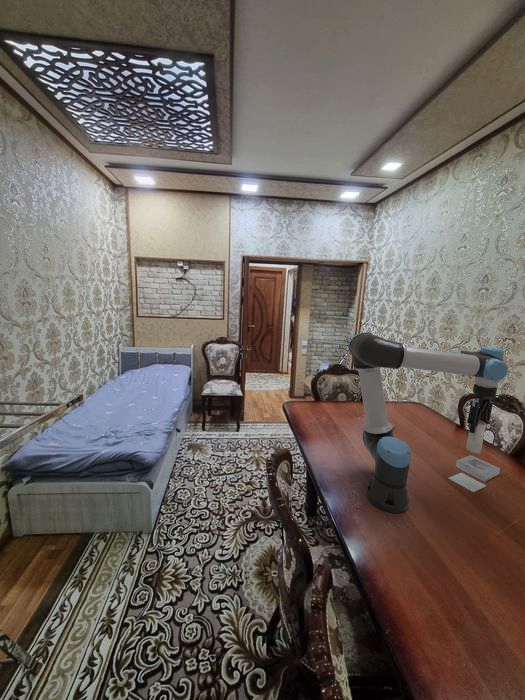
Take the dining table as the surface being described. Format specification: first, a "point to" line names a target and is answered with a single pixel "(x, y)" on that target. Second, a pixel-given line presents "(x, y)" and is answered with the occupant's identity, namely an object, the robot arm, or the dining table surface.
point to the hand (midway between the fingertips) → (475, 438)
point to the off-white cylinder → (477, 439)
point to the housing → (484, 475)
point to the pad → (467, 482)
